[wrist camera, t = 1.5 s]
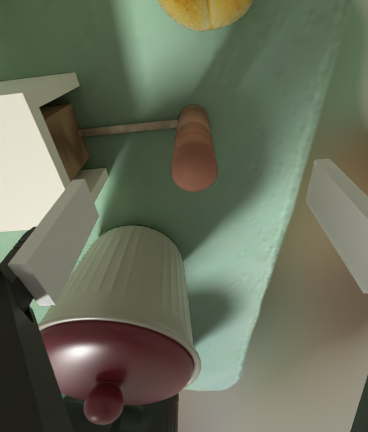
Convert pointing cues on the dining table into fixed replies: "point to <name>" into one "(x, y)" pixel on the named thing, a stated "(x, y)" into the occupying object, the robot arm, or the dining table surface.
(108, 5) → the dining table surface
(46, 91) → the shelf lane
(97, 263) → the canister
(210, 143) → the block with cord
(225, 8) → the bread roll
